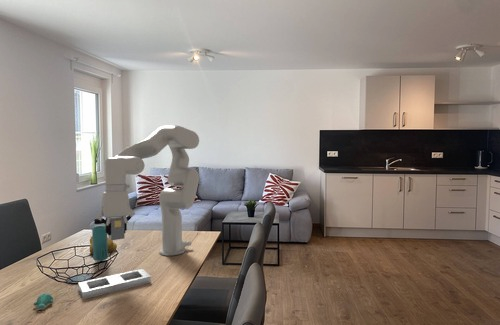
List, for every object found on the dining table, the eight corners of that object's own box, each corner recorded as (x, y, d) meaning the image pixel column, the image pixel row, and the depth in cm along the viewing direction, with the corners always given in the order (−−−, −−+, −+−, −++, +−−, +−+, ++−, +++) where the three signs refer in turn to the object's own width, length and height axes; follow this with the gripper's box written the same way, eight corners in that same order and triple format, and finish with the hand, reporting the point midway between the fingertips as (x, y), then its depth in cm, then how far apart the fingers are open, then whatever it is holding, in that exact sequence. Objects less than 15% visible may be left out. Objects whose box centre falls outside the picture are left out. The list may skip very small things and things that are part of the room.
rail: (142, 274, 141) (142, 268, 141) (150, 282, 133) (150, 276, 133) (78, 289, 128) (78, 282, 127) (83, 299, 119) (82, 292, 119)
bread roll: (118, 248, 176) (118, 232, 176) (114, 254, 167) (114, 238, 166) (91, 249, 174) (91, 234, 173) (86, 256, 164) (85, 239, 164)
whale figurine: (56, 300, 119) (55, 290, 119) (50, 310, 112) (49, 299, 112) (37, 303, 117) (36, 292, 117) (29, 313, 110) (29, 302, 110)
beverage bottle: (102, 264, 152) (101, 220, 151) (89, 263, 154) (87, 219, 152) (111, 259, 159) (110, 217, 158) (98, 258, 160) (97, 216, 159)
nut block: (121, 235, 141) (121, 216, 140) (124, 238, 136) (124, 218, 136) (108, 237, 138) (108, 217, 137) (111, 240, 134) (111, 220, 133)
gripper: (134, 186, 144) (135, 229, 145) (90, 188, 134) (91, 234, 135) (140, 188, 138) (140, 232, 139) (94, 190, 128) (95, 238, 129)
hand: (116, 233), depth 137 cm, fingers closed on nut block, 5 cm apart
